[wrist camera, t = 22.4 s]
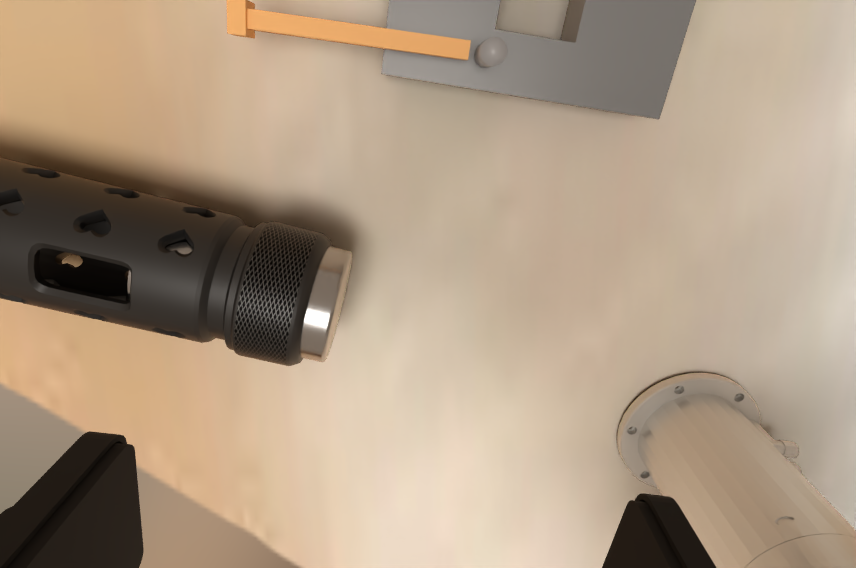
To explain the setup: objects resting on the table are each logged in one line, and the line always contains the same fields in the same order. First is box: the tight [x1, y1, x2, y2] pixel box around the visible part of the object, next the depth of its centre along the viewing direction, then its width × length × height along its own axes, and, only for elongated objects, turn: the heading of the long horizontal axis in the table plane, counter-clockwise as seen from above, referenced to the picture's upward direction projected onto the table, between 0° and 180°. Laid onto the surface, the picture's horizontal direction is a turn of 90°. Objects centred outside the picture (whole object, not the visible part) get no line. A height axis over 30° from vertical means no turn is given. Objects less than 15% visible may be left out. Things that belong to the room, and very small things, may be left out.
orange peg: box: [227, 0, 471, 60], centre depth 28 cm, size 2×14×2 cm, turn 83°
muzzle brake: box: [0, 157, 352, 366], centre depth 34 cm, size 10×28×10 cm, turn 75°
